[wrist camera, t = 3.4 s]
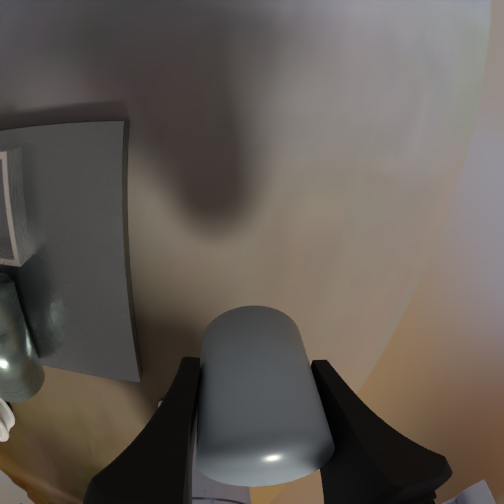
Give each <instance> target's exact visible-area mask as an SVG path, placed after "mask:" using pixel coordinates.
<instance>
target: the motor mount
mask: <svg viewBox="0 0 504 504" xmlns="http://www.w3.org/2000/svg"><path fill="white" fill-rule="evenodd" d="M129 122H130V120H121V121H89V122H72V123H59V124H48V125H38V126H29V127H21V128H13V129H6V130H0V398H1V399H3V400H5V401H8V402H22V401H25V400H28V399H30V398H31V397H33V396H34V395H35V394H36V393H37V392H38V391H39V390H40V389H41V387H42V385H43V382H44V377H45V374H44V370H43V367H42V365H46V366H50V367H54V368H59V369H63V370H68V371H73V372H78V373H83V374H88V375H94V376H99V377H105V378H111V379H118V380H125V381H132V382H139V383H140V382H141V378H142V374H143V373H142V367H141V361H140V354H139V347H138V340H137V333H136V325H135V316H134V307H133V297H132V286H131V274H130V259H129V241H128V209H127V172H128V140H129Z"/></svg>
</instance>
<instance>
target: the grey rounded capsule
mask: <svg viewBox="0 0 504 504" xmlns="http://www.w3.org/2000/svg"><path fill="white" fill-rule="evenodd" d="M334 451H335V445H334V442H333V439H332V435H331V432H330V429H329V425H328V422H327V419H326V415H325V412H324V409H323V406H322V402H321V399H320V396H319V393H318V389H317V386H316V383H315V380H314V376H313V373H312V370H311V367H310V364H309V360H308V357H307V354H306V351H305V348H304V345H303V342H302V338H301V335H300V332H299V329H298V327H297V325H296V324H295V322H294V321H293V320H292V319H291V318H290V317H289V316H287V315H286V314H284V313H283V312H281V311H279V310H276V309H273V308H270V307H265V306H244V307H239V308H235V309H232V310H229V311H227V312H225V313H223V314H221V315H220V316H218V317H217V318H215V319H214V320H213V321H212V322H211V323H210V324H209V325H208V327H207V328H206V330H205V332H204V334H203V337H202V343H201V357H200V378H199V393H198V411H197V436H196V466H197V468H198V469H199V471H200V472H201V473H203V474H204V475H205V476H207V477H209V478H211V479H213V480H215V481H218V482H221V483H225V484H230V485H236V486H269V485H276V484H281V483H286V482H290V481H293V480H296V479H299V478H302V477H304V476H307V475H309V474H311V473H312V472H314V471H316V470H318V469H320V468H321V467H322V466H324V465H325V464H326V463H327V462H328V461H329V460H330V459H331V457H332V456H333V454H334Z"/></svg>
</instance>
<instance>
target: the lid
mask: <svg viewBox="0 0 504 504" xmlns="http://www.w3.org/2000/svg"><path fill="white" fill-rule="evenodd" d="M14 424H15V418H14V415H13V413H12V411H11V409H10V408H9V406H8V405H7V403H6V402H5V401H4V400H3V399H1V398H0V441H7V440H8V438H9V433H8V432H9V430H10V428H11V427H13V426H14Z"/></svg>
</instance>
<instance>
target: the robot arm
mask: <svg viewBox="0 0 504 504" xmlns="http://www.w3.org/2000/svg"><path fill="white" fill-rule="evenodd" d="M311 370H312V373H313V376H314V380H315V383H316V386H317V389H318V393H319V396H320V399H321V402H322V406H323V409H324V412H325V415H326V419H327V422H328V425H329V429H330V432H331V435H332V439H333V442H334V445H335V451H334V454H333V456H332V457H331V459H330V460H329V461H328V462H327V463H326V464H325V465H324V466H322V467H321V468H320V472H321V478H322V487H323V494H324V504H435V502H434V500H433V499H435V498H436V493H435V490H436V489H437V488H439V487H440V486H441V485H442V484H444V483H445V482H446V481H447V480H448V479H449V478H450V477H451V476H452V470H451V468H450V466H449V464H448V462H447V460H446V458H445V457H444V456H442V455H440V454H437V453H435V452H433V451H431V450H428V449H426V448H424V447H422V446H420V445H419V444H417V443H415V442H413V441H411V440H410V439H408V438H406V437H405V436H403V435H402V434H400V433H399V432H397V431H396V430H395V429H393V428H392V427H391V426H389V425H388V424H387V423H385V422H384V421H383V420H382V419H381V418H379V417H378V416H377V415H376V414H375V413H374V412H372V410H370V409H369V408H368V407H367V406H366V405H365V404H364V403H363V402H362V401H361V400H360V399H359V397H358V396H357V395H356V394H355V393H354V392H353V391H352V390H351V389H350V387H349V386H348V385H347V384H346V383H345V382H344V380H343V379H342V378H341V377H340V376H339V374H338V373H337V372H336V371H335V369H334V368H333V367H332V366H331V365H330V363H329V362H328V361H327V360H313V361H312V364H311ZM199 378H200V358H195V357H184V358H182V361H181V364H180V367H179V370H178V372H177V374H176V377H175V379H174V381H173V383H172V385H171V387H170V389H169V390H168V392H167V394H166V396H165V398H164V399H163V401H159V403H158V409H157V411H156V412H155V414H154V415H153V417H152V418H151V419H150V421H149V422H148V424H147V425H146V426H145V427H144V429H143V430H142V431H141V432H140V434H139V435H138V436H137V437H136V438H135V439H134V441H133V442H132V443H131V444H130V445H129V446H128V447H127V448H126V449H125V450H124V451H123V452H122V453H121V454H120V455H119V456H118V457H117V458H116V459H115V460H114V461H113V462H111V463H110V464H109V465H108V466H107V467H105V468H104V469H103V470H102V471H100V472H99V473H98V474H97V475H95V476H94V477H93V478H92V479H91V481H90V483H89V485H88V488H87V490H86V493H85V496H84V501H83V504H251V497H250V486H236V485H230V484H225V483H221V482H218V481H215V480H213V479H211V478H209V477H207V476H205V475H204V474H203V473H201V472H200V471H199V469H198V468H197V466H196V436H197V411H198V393H199ZM19 504H21V503H19ZM442 504H496V503H495V501H494V499H493V497H492V494H491V492H490V490H489V488H488V486H487V484H486V482H485V480H482V481H480V482H478V483H476V484H474V485H472V486H470V487H469V488H467V489H465V490H464V491H462V492H461V493H460V494H458V495H457V496H456V497H455V498H453V499H451V500H449V501H446V502H444V503H442Z"/></svg>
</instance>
